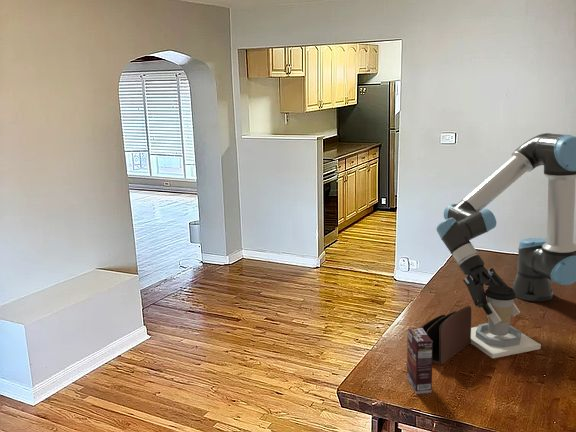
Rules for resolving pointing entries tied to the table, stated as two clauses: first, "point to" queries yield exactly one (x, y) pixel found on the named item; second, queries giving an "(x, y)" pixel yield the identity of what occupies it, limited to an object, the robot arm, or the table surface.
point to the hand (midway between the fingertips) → (507, 318)
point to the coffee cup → (500, 307)
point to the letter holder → (449, 334)
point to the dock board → (501, 350)
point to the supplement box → (419, 360)
